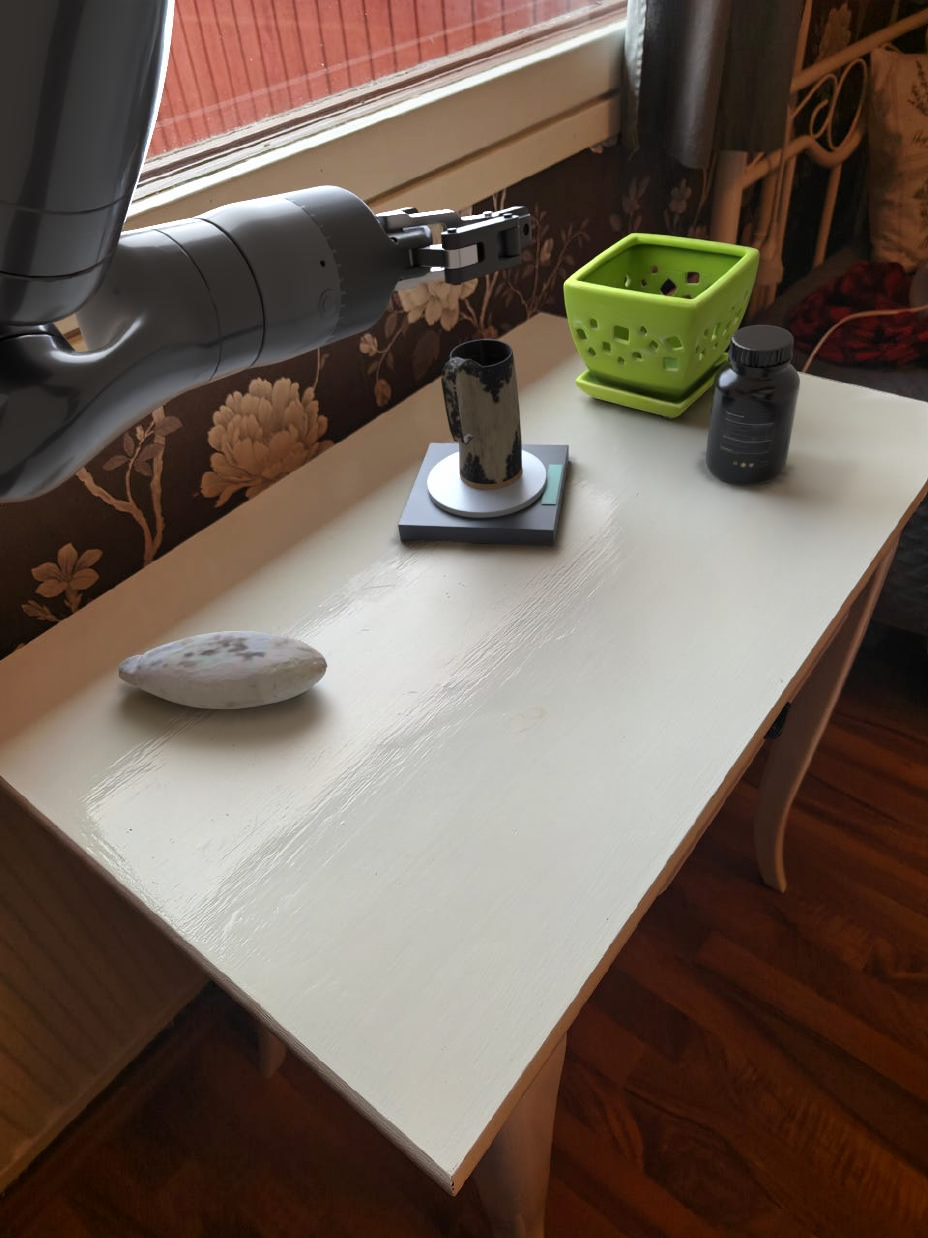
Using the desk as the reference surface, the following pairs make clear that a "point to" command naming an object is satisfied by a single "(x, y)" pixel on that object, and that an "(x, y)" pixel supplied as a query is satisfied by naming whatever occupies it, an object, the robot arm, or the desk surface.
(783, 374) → the supplement bottle
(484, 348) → the mug
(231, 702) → the decorative stone
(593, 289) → the flower pot
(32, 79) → the robot arm
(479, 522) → the scale
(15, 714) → the desk surface
